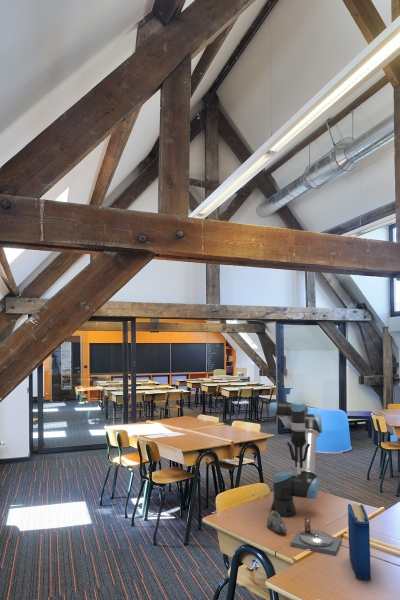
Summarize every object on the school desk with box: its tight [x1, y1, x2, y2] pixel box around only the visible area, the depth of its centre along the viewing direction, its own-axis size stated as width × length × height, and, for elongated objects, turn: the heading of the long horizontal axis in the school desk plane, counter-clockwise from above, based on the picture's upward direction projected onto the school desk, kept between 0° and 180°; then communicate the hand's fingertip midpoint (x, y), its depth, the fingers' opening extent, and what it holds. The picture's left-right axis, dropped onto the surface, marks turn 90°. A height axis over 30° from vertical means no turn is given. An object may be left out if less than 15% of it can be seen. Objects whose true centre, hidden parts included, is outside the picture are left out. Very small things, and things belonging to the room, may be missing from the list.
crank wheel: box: [300, 518, 334, 547], centre depth 223 cm, size 16×16×8 cm
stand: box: [290, 530, 343, 557], centre depth 222 cm, size 17×22×2 cm
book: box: [347, 503, 372, 580], centre depth 198 cm, size 22×7×25 cm, turn 168°
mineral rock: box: [266, 511, 288, 534], centre depth 239 cm, size 13×11×10 cm
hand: (299, 473), depth 244 cm, fingers closed
